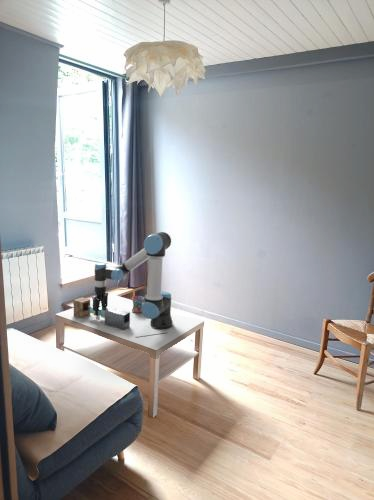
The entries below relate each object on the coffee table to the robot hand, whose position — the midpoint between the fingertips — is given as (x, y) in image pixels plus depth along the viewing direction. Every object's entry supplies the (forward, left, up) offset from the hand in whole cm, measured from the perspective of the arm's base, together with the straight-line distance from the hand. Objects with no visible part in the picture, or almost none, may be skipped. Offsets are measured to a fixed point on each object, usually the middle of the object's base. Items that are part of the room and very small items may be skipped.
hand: (100, 318), depth 255 cm
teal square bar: (-5, 0, +2) cm, 6 cm away
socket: (+17, 0, -2) cm, 17 cm away
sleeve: (-15, 0, -2) cm, 15 cm away
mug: (-10, -31, -2) cm, 33 cm away
